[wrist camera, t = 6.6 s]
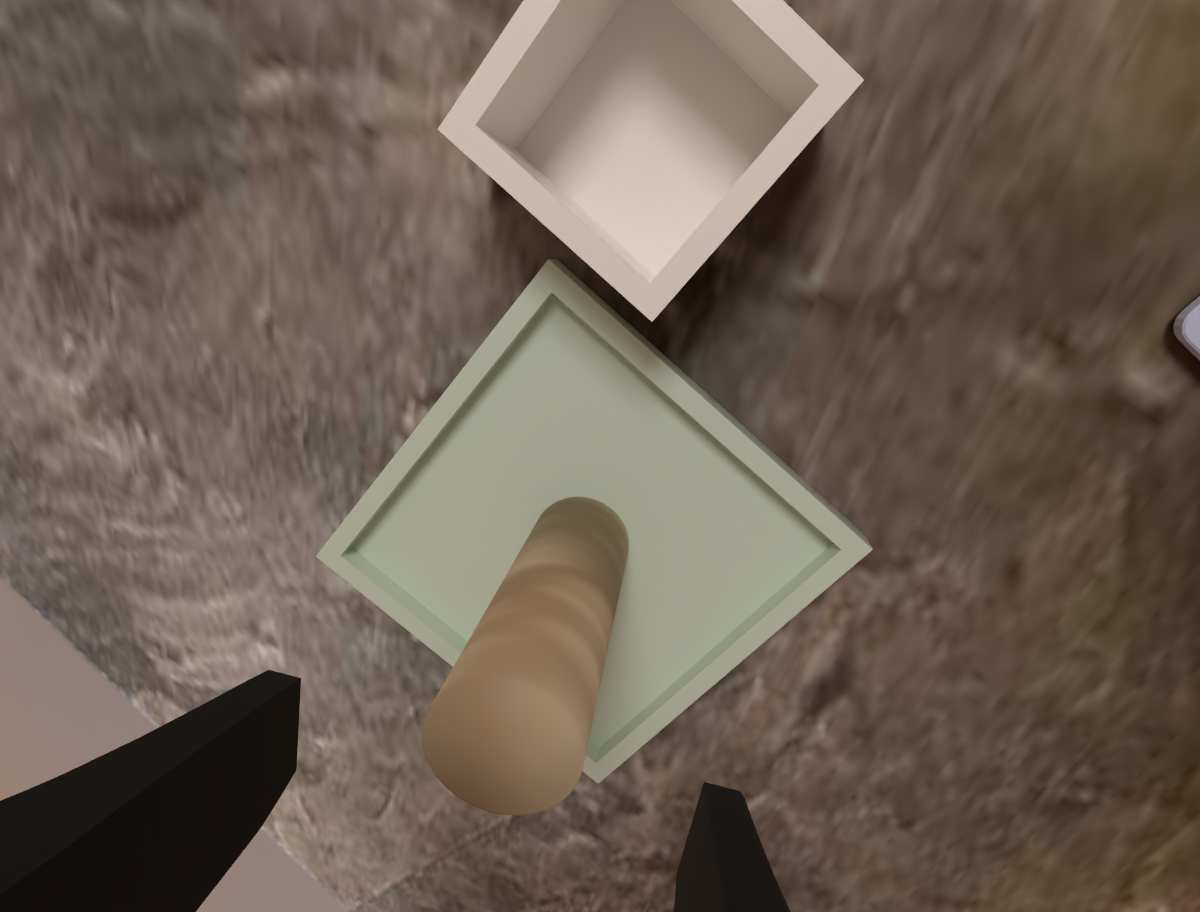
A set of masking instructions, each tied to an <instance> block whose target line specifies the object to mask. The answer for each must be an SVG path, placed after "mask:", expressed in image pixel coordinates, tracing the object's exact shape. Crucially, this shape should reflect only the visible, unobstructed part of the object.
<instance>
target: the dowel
mask: <svg viewBox="0 0 1200 912" xmlns="http://www.w3.org/2000/svg"><path fill="white" fill-rule="evenodd" d="M628 550H629V538H628V533H627V530H626V528H625V525H624V523H623V522H622V520H621V519H620V517H619V516H618V515H617V514H616V513H615V512H614V511H613V510H612V509H611V508H610V507H608V506H607V505H605V504H603V503H602V502H599V501H597V500H594V499H591V498H586V497H570V498H566V499H562V500H560V501H557V502H555V503H554V504H552V505H551V506H549V507H548V508H547V509H546V510H545V511H544V512H543V513H542V514H541V516H540V517H539V519H538V521H537V522H536V524H535V526H534V528H533V529H532V531H531V533H530V535H529V536H528V538H527V540H526V541H525V543H524V545H523V547H522V548H521V550H520V552H519V554H518V555H517V557H516V559H515V561H514V562H513V564H512V566H511V568H510V569H509V571H508V573H507V574H506V576H505V578H504V580H503V581H502V583H501V585H500V587H499V588H498V590H497V592H496V594H495V595H494V597H493V599H492V601H491V602H490V604H489V606H488V608H487V609H486V611H485V613H484V614H483V616H482V618H481V620H480V621H479V623H478V625H477V627H476V628H475V630H474V632H473V634H472V635H471V637H470V639H469V641H468V642H467V644H466V646H465V647H464V649H463V651H462V653H461V654H460V656H459V658H458V660H457V661H456V663H455V665H454V667H453V668H452V670H451V672H450V674H449V675H448V677H447V679H446V681H445V682H444V684H443V686H442V687H441V689H440V691H439V693H438V694H437V696H436V698H435V700H434V701H433V703H432V705H431V707H430V708H429V710H428V712H427V714H426V717H425V720H424V724H423V730H422V741H423V748H424V752H425V755H426V758H427V760H428V763H429V765H430V767H431V769H432V770H433V772H434V773H435V775H436V776H437V777H438V779H439V780H440V781H441V782H442V784H443V785H444V786H445V787H446V788H447V789H448V790H450V791H451V792H452V793H453V794H455V795H456V796H457V797H459V798H460V799H462V800H463V801H465V802H467V803H469V804H471V805H473V806H475V807H477V808H480V809H482V810H485V811H488V812H492V813H497V814H502V815H513V816H515V815H528V814H534V813H538V812H542V811H545V810H547V809H549V808H552V807H553V806H555V805H557V804H558V803H560V802H561V801H562V800H564V799H565V798H566V797H567V796H568V795H569V794H570V793H571V792H572V791H573V789H574V788H575V786H576V785H577V783H578V781H579V778H580V776H581V773H582V769H583V765H584V760H585V755H586V751H587V746H588V741H589V736H590V732H591V727H592V722H593V717H594V713H595V708H596V703H597V698H598V694H599V689H600V684H601V679H602V675H603V670H604V665H605V660H606V656H607V651H608V646H609V641H610V637H611V632H612V627H613V622H614V618H615V613H616V608H617V603H618V599H619V594H620V589H621V584H622V580H623V575H624V570H625V565H626V560H627V556H628Z"/></svg>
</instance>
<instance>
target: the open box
mask: <svg viewBox="0 0 1200 912" xmlns="http://www.w3.org/2000/svg"><path fill="white" fill-rule="evenodd" d="M863 81H864V79H863V78H862V77H861V76H860V75H859V74H857V73H856V72H855V71H854V70H853V69H852V68H851V67H850V66H849V65H848V64H847V63H846V62H845V61H844V60H843V59H842V58H841V57H840V56H839V55H838V54H837V53H836V52H835V51H834V50H833V49H832V48H831V47H830V46H829V45H828V44H827V43H826V42H825V41H824V40H823V39H822V38H821V37H820V36H819V35H818V34H817V33H816V32H815V31H814V30H813V29H812V28H811V27H810V26H809V25H808V24H807V23H806V22H805V21H804V20H803V19H802V18H801V17H799V16H798V15H797V14H796V13H795V12H794V11H793V10H792V9H791V8H790V7H789V6H788V5H787V4H786V3H785V2H784V1H783V0H524V1H523V2H522V4H521V5H520V7H519V8H518V10H517V11H516V13H515V14H514V16H513V17H512V19H511V20H510V22H509V23H508V25H507V26H506V28H505V29H504V31H503V32H502V34H501V35H500V37H499V38H498V40H497V41H496V43H495V44H494V46H493V47H492V49H491V50H490V52H489V53H488V55H487V56H486V58H485V59H484V61H483V62H482V64H481V65H480V67H479V68H478V70H477V71H476V73H475V74H474V76H473V77H472V79H471V80H470V82H469V83H468V85H467V86H466V88H465V89H464V91H463V92H462V94H461V95H460V97H459V98H458V100H457V101H456V103H455V104H454V106H453V107H452V109H451V110H450V112H449V113H448V115H447V116H446V118H445V119H444V121H443V122H442V124H441V125H440V127H439V128H438V130H439V131H440V132H441V133H442V134H443V135H445V136H446V137H447V138H448V139H449V140H450V141H451V142H452V143H453V144H455V145H456V146H457V147H458V148H459V149H460V150H461V151H462V152H463V153H465V154H466V155H467V156H468V157H469V158H470V159H471V160H472V161H473V162H475V163H476V164H477V165H478V166H479V167H480V168H481V169H482V170H483V171H485V172H486V173H487V174H488V175H489V176H490V177H491V178H492V179H493V180H495V181H496V182H497V183H498V184H499V185H500V186H501V187H502V188H503V189H505V190H506V191H507V192H508V193H509V194H510V195H511V196H512V197H513V198H515V199H516V200H517V201H518V202H519V203H520V204H521V205H522V206H523V207H525V208H526V209H527V210H528V211H529V212H530V213H531V214H532V215H533V216H535V217H536V218H537V219H538V220H539V221H540V222H541V223H542V224H543V225H545V226H546V227H547V228H548V229H549V230H550V231H551V232H552V233H553V234H555V235H556V236H557V237H558V238H559V239H560V240H561V241H562V242H563V243H565V244H566V245H567V246H568V247H569V248H570V249H571V250H572V251H574V252H575V253H576V254H577V255H578V256H579V257H580V258H581V259H582V260H584V261H585V262H586V263H587V264H588V265H589V266H590V267H591V268H592V269H594V270H595V271H596V272H597V273H598V274H599V275H600V276H601V277H602V278H604V279H605V280H606V281H607V282H608V283H609V284H610V285H611V286H612V287H614V288H615V289H616V290H617V291H618V292H619V293H620V294H621V295H622V296H624V297H625V298H626V299H627V300H628V301H629V302H630V303H631V304H632V305H634V306H635V307H636V308H637V309H638V310H639V311H640V312H641V313H642V314H644V315H645V316H646V317H647V318H648V319H649V320H650V321H651V322H653V320H654V319H655V318H656V317H657V316H658V315H659V314H660V312H661V311H662V310H663V309H664V308H665V307H666V306H667V304H668V303H669V302H670V301H671V300H672V299H673V298H674V296H675V295H676V294H677V293H678V292H679V291H680V290H681V288H682V287H683V286H684V285H685V284H686V283H687V282H688V280H689V279H690V278H691V277H692V276H693V275H694V274H695V272H696V271H697V270H698V269H699V268H700V267H701V266H702V264H703V263H704V262H705V261H706V260H707V259H708V258H709V256H710V255H711V254H712V253H713V252H714V251H715V250H716V248H717V247H718V246H719V245H720V244H721V243H722V242H723V240H724V239H725V238H726V237H727V236H728V235H729V234H730V232H731V231H732V230H733V229H734V228H735V227H736V226H737V224H738V223H739V222H740V221H741V220H742V219H743V218H744V216H745V215H746V214H747V213H748V212H749V211H750V210H751V209H752V207H753V206H754V205H755V204H756V203H757V202H758V201H759V199H760V198H761V197H762V196H763V195H764V194H765V193H766V191H767V190H768V189H769V188H770V187H771V186H772V185H773V183H774V182H775V181H776V180H777V179H778V178H779V177H780V175H781V174H782V173H783V172H784V171H785V170H786V169H787V167H788V166H789V165H790V164H791V163H792V162H793V161H794V159H795V158H796V157H797V156H798V155H799V154H800V153H801V151H802V150H803V149H804V148H805V147H806V146H807V145H808V143H809V142H810V141H811V140H812V139H813V138H814V137H815V135H816V134H817V133H818V132H819V131H820V130H821V129H822V127H823V126H824V125H825V124H826V123H827V122H828V121H829V119H830V118H831V117H832V116H833V115H834V114H835V113H836V111H837V110H838V109H839V108H840V107H841V106H842V105H843V103H844V102H845V101H846V100H847V99H848V98H849V97H850V95H851V94H852V93H853V92H854V91H855V90H856V89H857V87H858V86H859V85H860V84H861V83H862V82H863Z"/></svg>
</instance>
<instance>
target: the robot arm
mask: <svg viewBox="0 0 1200 912" xmlns="http://www.w3.org/2000/svg"><path fill="white" fill-rule="evenodd" d="M1173 327H1174V334H1175V336H1176V337H1177V339H1178V340H1179V341H1180V342H1181V343H1182V344H1183V345H1184V346H1185V347H1186V348H1187V349H1188V350H1189V351H1190V352H1191V353H1192V354H1193V355H1194V356H1195V357H1196V358H1197V359H1198V360H1199V361H1200V296H1199V297H1198V298H1197V299H1196V300H1194V301H1193V302H1192V303H1191V304H1190V305H1189V306H1187V307H1186V308H1185V309H1184V310H1183V311H1182V312H1181V313H1180V314H1179V315H1178V316H1177V317H1176V320H1175V322H1174V325H1173ZM300 685H301V678H298V677H294V676H290V675H286V674H283V673H279V672H275V671H271V670H268V671H266V672H264V673H262V674H260V675H258V676H256V677H254V678H252V679H250V680H248V681H246V682H244V683H242V684H240V685H238V686H237V687H235V688H233V689H231V690H229V691H227V692H225V693H224V694H222V695H220V696H218V697H216V698H214V699H212V700H211V701H209V702H207V703H205V704H203V705H201V706H199V707H197V708H196V709H194V710H192V711H190V712H188V713H186V714H184V715H182V716H180V717H178V718H177V719H175V720H173V721H171V722H169V723H167V724H165V725H163V726H161V727H159V728H157V729H155V730H154V731H152V732H150V733H148V734H146V735H144V736H142V737H140V738H138V739H136V740H134V741H132V742H130V743H128V744H125V745H123V746H121V747H119V748H117V749H115V750H113V751H111V752H109V753H107V754H105V755H103V756H100V757H98V758H96V759H94V760H92V761H90V762H88V763H86V764H84V765H82V766H79V767H78V768H75V769H73V770H71V771H69V772H67V773H65V774H63V775H60V776H58V777H56V778H54V779H51V780H49V781H47V782H45V783H42V784H40V785H38V786H35V787H33V788H30V789H28V790H26V791H23V792H21V793H19V794H16V795H14V796H11V797H9V798H6V799H4V800H2V801H0V912H196V911H197V909H198V908H199V907H200V905H201V904H202V903H203V902H204V900H205V899H206V898H207V897H208V895H209V894H210V893H211V891H212V890H213V889H214V888H215V886H216V885H217V884H218V882H219V881H220V880H221V879H222V877H223V876H224V875H225V873H226V872H227V871H228V870H229V868H230V867H231V866H232V864H233V863H234V862H235V860H236V859H237V858H238V857H239V855H240V854H241V853H242V851H243V850H244V849H245V848H246V846H247V845H248V844H249V842H250V841H251V840H252V839H253V837H254V836H255V834H256V833H257V832H258V830H259V829H260V828H261V827H262V825H263V823H264V822H265V820H266V819H267V817H268V815H269V814H270V812H271V811H272V809H273V808H274V806H275V804H276V803H277V801H278V800H279V798H280V796H281V795H282V793H283V791H284V790H285V788H286V786H287V785H288V783H289V781H290V780H291V778H292V776H293V775H294V773H295V771H296V766H297V746H298V726H299V705H300ZM674 912H790V910H789V908H788V906H787V903H786V901H785V899H784V897H783V895H782V892H781V890H780V888H779V886H778V883H777V881H776V879H775V876H774V874H773V871H772V869H771V867H770V864H769V862H768V859H767V857H766V854H765V852H764V849H763V847H762V844H761V842H760V839H759V836H758V834H757V831H756V829H755V826H754V823H753V820H752V818H751V815H750V812H749V809H748V806H747V804H746V801H745V798H744V797H743V795H742V793H741V792H740V791H737V790H733V789H729V788H725V787H721V786H718V785H714V784H710V783H706V782H704V784H703V787H702V791H701V794H700V798H699V801H698V804H697V808H696V811H695V814H694V818H693V821H692V824H691V828H690V831H689V834H688V838H687V841H686V845H685V848H684V851H683V855H682V858H681V861H680V865H679V868H678V871H677V881H676V893H675V905H674Z"/></svg>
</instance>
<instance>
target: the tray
mask: <svg viewBox="0 0 1200 912" xmlns="http://www.w3.org/2000/svg"><path fill="white" fill-rule="evenodd" d="M570 497H586V498H591V499H594V500H597V501H599V502H602V503H603V504H605V505H607V506H608V507H610V508H611V509H612V510H613V511H614V512H615V513H616V514H617V515H618V516H619V517H620V519H621V520H622V522H623V523H624V525H625V528H626V530H627V533H628V538H629V550H628V556H627V560H626V565H625V570H624V575H623V580H622V584H621V589H620V594H619V599H618V603H617V608H616V613H615V618H614V622H613V627H612V632H611V637H610V641H609V646H608V651H607V656H606V660H605V665H604V670H603V675H602V679H601V684H600V689H599V694H598V698H597V703H596V708H595V713H594V717H593V722H592V727H591V732H590V736H589V741H588V746H587V751H586V755H585V760H584V765H583V769H582V771H583V772H584V773H585V774H587V775H588V776H589V777H590V778H592V779H593V780H594V781H595V782H596V783H600V782H601V781H602V780H603V779H604V778H606V777H607V776H608V775H609V774H610V773H611V772H613V771H614V770H615V769H616V768H617V767H618V766H620V765H621V764H622V763H623V762H624V761H625V760H627V759H628V758H629V757H630V756H631V755H632V754H634V753H635V752H636V751H637V750H638V749H639V748H641V747H642V746H643V745H644V744H645V743H647V742H648V741H649V740H650V739H651V738H652V737H654V736H655V735H656V734H657V733H658V732H659V731H661V730H662V729H663V728H664V727H665V726H666V725H668V724H669V723H670V722H671V721H672V720H673V719H675V718H676V717H677V716H678V715H679V714H681V713H682V712H683V711H684V710H685V709H686V708H688V707H689V706H690V705H691V704H692V703H693V702H695V701H696V700H697V699H698V698H699V697H700V696H702V695H703V694H704V693H705V692H706V691H707V690H709V689H710V688H711V687H712V686H713V685H714V684H716V683H717V682H718V681H719V680H720V679H722V678H723V677H724V676H725V675H726V674H727V673H729V672H730V671H731V670H732V669H733V668H734V667H736V666H737V665H738V664H739V663H740V662H741V661H743V660H744V659H745V658H746V657H747V656H748V655H750V654H751V653H752V652H753V651H754V650H756V649H757V648H758V647H759V646H760V645H761V644H763V643H764V642H765V641H766V640H767V639H768V638H770V637H771V636H772V635H773V634H774V633H775V632H777V631H778V630H779V629H780V628H781V627H782V626H784V625H785V624H786V623H787V622H788V621H790V620H791V619H792V618H793V617H794V616H795V615H797V614H798V613H799V612H800V611H801V610H802V609H804V608H805V607H806V606H807V605H808V604H809V603H811V602H812V601H813V600H814V599H815V598H816V597H818V596H819V595H820V594H821V593H822V592H823V591H825V590H826V589H827V588H828V587H829V586H831V585H832V584H833V583H834V582H835V581H836V580H838V579H839V578H840V577H841V576H842V575H843V574H845V573H846V572H847V571H848V570H849V569H850V568H852V567H853V566H854V565H855V564H856V563H857V562H859V561H860V560H861V559H862V558H863V557H865V556H866V555H867V554H868V553H869V552H870V551H872V550H873V549H872V547H871V545H870V544H869V542H868V541H867V539H866V537H865V536H864V534H863V532H862V531H860V530H859V529H858V528H857V527H856V526H855V525H854V524H853V523H852V522H850V521H849V520H848V519H847V518H846V517H845V516H844V515H843V514H841V513H840V512H839V511H838V510H837V509H836V508H835V507H834V506H833V505H831V504H830V503H829V502H828V501H827V500H826V499H825V498H824V497H822V496H821V495H820V494H819V493H818V492H817V491H816V490H815V489H814V488H812V487H811V486H810V485H809V484H808V483H807V482H806V481H805V480H803V479H802V478H801V477H800V476H799V475H798V474H797V473H796V472H795V471H793V470H792V469H791V468H790V467H789V466H788V465H787V464H786V463H784V462H783V461H782V460H781V459H780V458H779V457H778V456H777V455H776V454H774V453H773V452H772V451H771V450H770V449H769V448H768V447H767V446H766V445H764V444H763V443H762V442H761V441H760V440H759V439H758V438H757V437H755V436H754V435H753V434H752V433H751V432H750V431H749V430H748V429H747V428H745V427H744V426H743V425H742V424H741V423H740V422H739V421H738V420H736V419H735V418H734V417H733V416H732V415H731V414H730V413H729V412H728V411H726V410H725V409H724V408H723V407H722V406H721V405H720V404H719V403H717V402H716V401H715V400H714V399H713V398H712V397H711V396H710V395H709V394H707V393H706V392H705V391H704V390H703V389H702V388H701V387H700V386H698V385H697V384H696V383H695V382H694V381H693V380H692V379H691V378H690V377H688V376H687V375H686V374H685V373H684V372H683V371H682V370H681V369H679V368H678V367H677V366H676V365H675V364H674V363H673V362H672V361H671V360H669V359H668V358H667V357H666V356H665V355H664V354H663V353H662V352H661V351H659V350H658V349H657V348H656V347H655V346H654V345H653V344H652V343H650V342H649V341H648V340H647V339H646V338H645V337H644V336H643V335H642V334H640V333H639V332H638V331H637V330H636V329H635V328H634V327H633V326H631V325H630V324H629V323H628V322H627V321H626V320H625V319H624V318H623V317H621V316H620V315H619V314H618V313H617V312H616V311H615V310H614V309H612V308H611V307H610V306H609V305H608V304H607V303H606V302H605V301H604V300H602V299H601V298H600V297H599V296H598V295H597V294H596V293H595V292H593V291H592V290H591V289H590V288H589V287H588V286H587V285H586V284H585V283H583V282H582V281H581V280H580V279H579V278H578V277H577V276H576V275H574V274H573V273H572V272H571V271H570V270H569V269H568V268H567V267H566V266H564V265H563V264H562V263H561V262H560V261H559V260H558V259H548V260H547V262H546V263H545V264H544V265H543V267H542V268H541V269H540V271H539V272H538V273H537V274H536V276H535V277H534V278H533V280H532V281H531V282H530V283H529V285H528V286H527V287H526V288H525V290H524V291H523V292H522V294H521V295H520V296H519V297H518V299H517V300H516V301H515V303H514V304H513V305H512V306H511V308H510V309H509V310H508V311H507V313H506V314H505V315H504V317H503V318H502V319H501V320H500V322H499V323H498V324H497V326H496V327H495V328H494V329H493V331H492V332H491V333H490V334H489V336H488V337H487V338H486V340H485V341H484V342H483V343H482V345H481V346H480V347H479V349H478V350H477V351H476V352H475V354H474V355H473V356H472V357H471V359H470V360H469V361H468V363H467V364H466V365H465V366H464V368H463V369H462V370H461V372H460V373H459V374H458V375H457V377H456V378H455V379H454V380H453V382H452V383H451V384H450V386H449V387H448V388H447V389H446V391H445V392H444V393H443V395H442V396H441V397H440V398H439V400H438V401H437V402H436V403H435V405H434V406H433V407H432V409H431V410H430V411H429V412H428V414H427V415H426V416H425V418H424V419H423V420H422V421H421V423H420V424H419V425H418V426H417V428H416V429H415V430H414V432H413V433H412V434H411V435H410V437H409V438H408V439H407V441H406V442H405V443H404V444H403V446H402V447H401V448H400V449H399V451H398V452H397V453H396V455H395V456H394V457H393V458H392V460H391V461H390V462H389V464H388V465H387V466H386V467H385V469H384V470H383V471H382V472H381V474H380V475H379V476H378V478H377V479H376V480H375V481H374V483H373V484H372V485H371V487H370V488H369V489H368V490H367V492H366V493H365V494H364V495H363V497H362V498H361V499H360V501H359V502H358V503H357V504H356V506H355V507H354V508H353V510H352V511H351V512H350V513H349V515H348V516H347V517H346V518H345V520H344V521H343V522H342V524H341V525H340V526H339V527H338V529H337V530H336V531H335V533H334V534H333V535H332V536H331V538H330V539H329V540H328V541H327V543H326V544H325V545H324V547H323V548H322V549H321V550H320V552H319V553H318V554H317V556H316V557H317V558H318V559H320V560H321V561H322V562H323V563H325V564H326V565H327V566H328V567H330V568H331V569H332V570H333V571H335V572H336V573H337V574H338V575H340V576H341V577H342V578H343V579H345V580H346V581H347V582H348V583H350V584H351V585H352V586H353V587H354V588H356V589H357V590H358V591H359V592H361V593H362V594H363V595H364V596H366V597H367V598H368V599H369V600H371V601H372V602H373V603H374V604H376V605H377V606H378V607H379V608H381V609H382V610H383V611H384V612H386V613H387V614H388V615H389V616H390V617H392V618H393V619H394V620H395V621H397V622H398V623H399V624H400V625H402V626H403V627H404V628H405V629H407V630H408V631H409V632H410V633H412V634H413V635H414V636H415V637H417V638H418V639H419V640H420V641H422V642H423V643H424V644H425V645H426V646H428V647H429V648H430V649H431V650H433V651H434V652H435V653H436V654H438V655H439V656H440V657H441V658H443V659H444V660H445V661H446V662H448V663H449V664H450V665H451V666H453V667H454V665H455V663H456V661H457V660H458V658H459V656H460V654H461V653H462V651H463V649H464V647H465V646H466V644H467V642H468V641H469V639H470V637H471V635H472V634H473V632H474V630H475V628H476V627H477V625H478V623H479V621H480V620H481V618H482V616H483V614H484V613H485V611H486V609H487V608H488V606H489V604H490V602H491V601H492V599H493V597H494V595H495V594H496V592H497V590H498V588H499V587H500V585H501V583H502V581H503V580H504V578H505V576H506V574H507V573H508V571H509V569H510V568H511V566H512V564H513V562H514V561H515V559H516V557H517V555H518V554H519V552H520V550H521V548H522V547H523V545H524V543H525V541H526V540H527V538H528V536H529V535H530V533H531V531H532V529H533V528H534V526H535V524H536V522H537V521H538V519H539V517H540V516H541V514H542V513H543V512H544V511H545V510H546V509H547V508H548V507H549V506H551V505H552V504H554V503H555V502H557V501H560V500H562V499H566V498H570Z"/></svg>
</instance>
